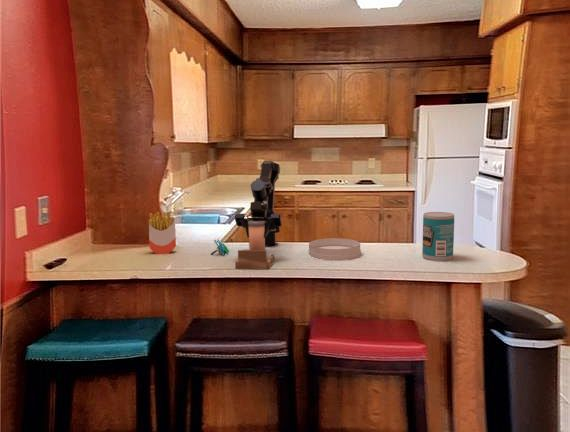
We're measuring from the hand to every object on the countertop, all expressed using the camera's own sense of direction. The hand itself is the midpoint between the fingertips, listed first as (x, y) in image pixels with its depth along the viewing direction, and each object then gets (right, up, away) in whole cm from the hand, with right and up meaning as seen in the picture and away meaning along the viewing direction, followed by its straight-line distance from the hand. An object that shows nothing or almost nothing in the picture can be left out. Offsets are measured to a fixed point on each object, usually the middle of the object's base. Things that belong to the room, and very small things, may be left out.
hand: (256, 237), depth 208 cm
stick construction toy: (-17, -8, +18) cm, 26 cm away
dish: (+33, -8, +13) cm, 36 cm away
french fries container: (-42, -8, +22) cm, 48 cm away
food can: (+74, -9, +4) cm, 74 cm away
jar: (0, -8, +3) cm, 8 cm away
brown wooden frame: (0, -11, -2) cm, 11 cm away
